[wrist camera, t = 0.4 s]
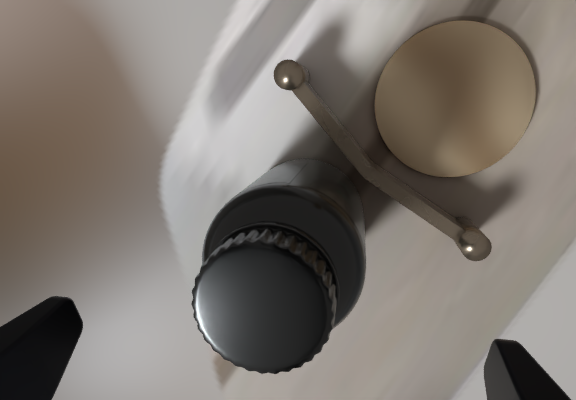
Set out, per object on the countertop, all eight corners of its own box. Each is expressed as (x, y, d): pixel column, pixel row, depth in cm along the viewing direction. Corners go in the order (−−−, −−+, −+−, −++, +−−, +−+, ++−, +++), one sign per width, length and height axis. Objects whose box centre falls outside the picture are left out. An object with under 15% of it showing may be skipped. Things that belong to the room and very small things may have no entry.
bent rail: (452, 251, 24) (466, 274, 21) (273, 87, 23) (260, 85, 20) (479, 228, 23) (497, 247, 20) (296, 59, 23) (286, 53, 20)
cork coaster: (448, 204, 23) (450, 206, 23) (344, 108, 23) (343, 109, 23) (567, 94, 21) (571, 94, 21) (453, -13, 21) (455, -15, 20)
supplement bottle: (257, 268, 26) (178, 398, 15) (245, 161, 25) (145, 214, 13) (367, 264, 25) (373, 405, 13) (360, 152, 23) (361, 201, 12)
